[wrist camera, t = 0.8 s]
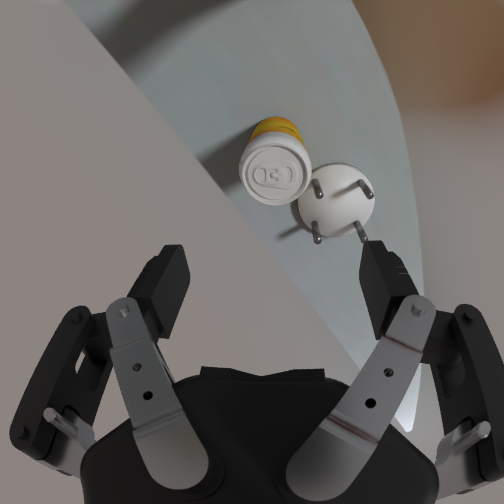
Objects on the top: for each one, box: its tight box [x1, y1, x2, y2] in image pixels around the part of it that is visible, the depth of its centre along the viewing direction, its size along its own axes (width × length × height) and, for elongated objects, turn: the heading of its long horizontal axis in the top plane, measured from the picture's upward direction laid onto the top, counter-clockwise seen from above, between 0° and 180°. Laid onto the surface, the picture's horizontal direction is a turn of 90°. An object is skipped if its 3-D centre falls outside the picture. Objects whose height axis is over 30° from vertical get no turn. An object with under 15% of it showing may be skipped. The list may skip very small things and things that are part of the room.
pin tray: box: [298, 163, 375, 244], centre depth 35 cm, size 11×11×6 cm
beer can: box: [239, 117, 312, 206], centre depth 28 cm, size 6×6×15 cm
